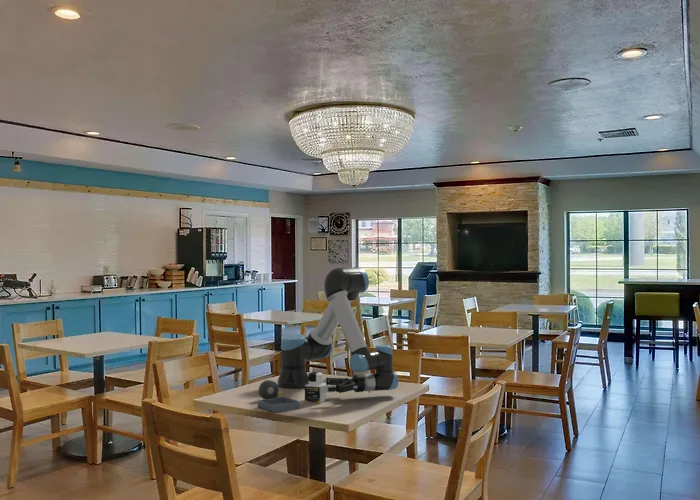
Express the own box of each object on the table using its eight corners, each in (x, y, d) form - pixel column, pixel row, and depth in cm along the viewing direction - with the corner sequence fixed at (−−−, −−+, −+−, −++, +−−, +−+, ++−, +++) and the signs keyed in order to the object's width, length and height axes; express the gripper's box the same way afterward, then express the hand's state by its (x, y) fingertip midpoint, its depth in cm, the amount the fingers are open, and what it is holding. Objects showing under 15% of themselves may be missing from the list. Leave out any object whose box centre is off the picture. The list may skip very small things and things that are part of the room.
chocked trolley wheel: (258, 400, 258) (258, 381, 258) (280, 396, 265) (280, 378, 265) (262, 401, 256) (262, 382, 256) (284, 397, 262) (284, 379, 262)
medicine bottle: (304, 402, 254) (304, 373, 254) (311, 398, 261) (311, 370, 261) (320, 403, 252) (320, 374, 252) (326, 400, 258) (326, 371, 258)
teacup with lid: (354, 376, 310) (354, 353, 310) (371, 377, 307) (371, 354, 308) (347, 381, 298) (347, 357, 299) (365, 382, 296) (365, 358, 296)
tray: (258, 406, 246) (258, 400, 246) (283, 402, 254) (283, 396, 254) (273, 412, 237) (273, 406, 237) (299, 408, 244) (299, 401, 244)
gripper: (373, 397, 250) (323, 401, 244) (353, 385, 274) (308, 389, 267) (373, 379, 251) (323, 383, 244) (353, 369, 274) (308, 372, 268)
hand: (315, 386), depth 256 cm, fingers open, 13 cm apart
